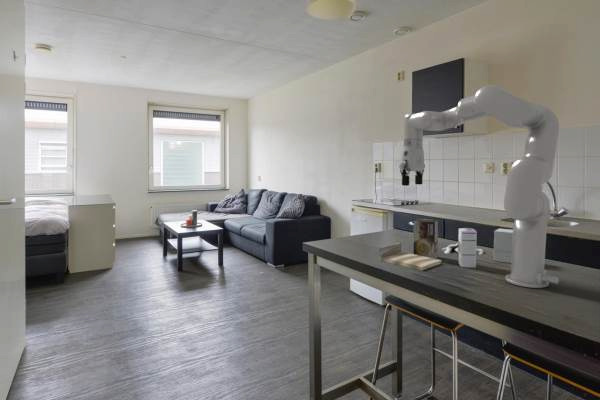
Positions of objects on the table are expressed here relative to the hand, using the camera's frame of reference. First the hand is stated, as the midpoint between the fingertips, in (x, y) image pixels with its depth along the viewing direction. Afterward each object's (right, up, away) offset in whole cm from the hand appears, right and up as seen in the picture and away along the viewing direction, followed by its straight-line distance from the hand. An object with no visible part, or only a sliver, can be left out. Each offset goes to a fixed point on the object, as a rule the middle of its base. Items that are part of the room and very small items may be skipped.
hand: (412, 184), depth 157 cm
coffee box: (+7, -31, +3) cm, 32 cm away
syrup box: (+18, -33, -10) cm, 39 cm away
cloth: (+25, -31, +13) cm, 42 cm away
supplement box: (+37, -32, -3) cm, 49 cm away
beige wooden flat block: (-2, -32, -4) cm, 32 cm away
